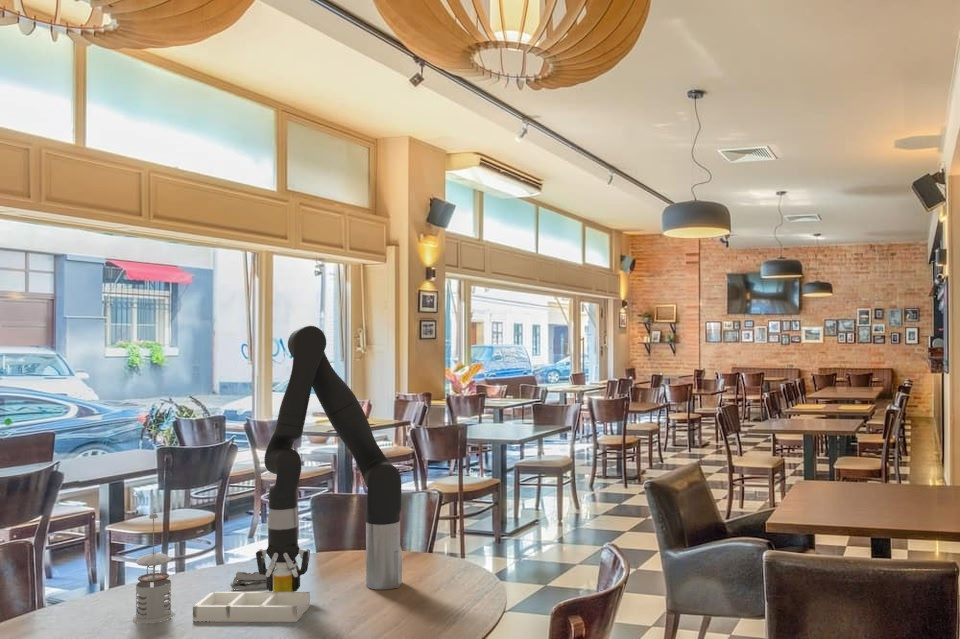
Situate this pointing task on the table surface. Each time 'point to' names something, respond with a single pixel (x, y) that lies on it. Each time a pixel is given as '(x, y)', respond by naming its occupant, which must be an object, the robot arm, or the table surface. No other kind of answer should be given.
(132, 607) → the table surface
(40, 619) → the table surface
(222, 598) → the rack
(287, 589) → the supplement bottle
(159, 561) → the french press
